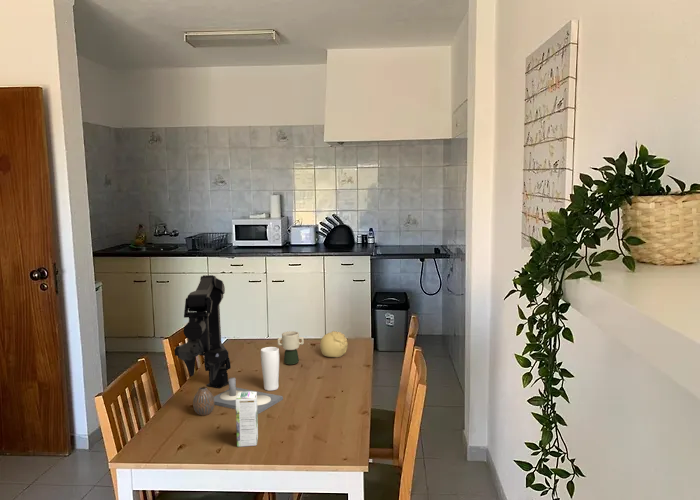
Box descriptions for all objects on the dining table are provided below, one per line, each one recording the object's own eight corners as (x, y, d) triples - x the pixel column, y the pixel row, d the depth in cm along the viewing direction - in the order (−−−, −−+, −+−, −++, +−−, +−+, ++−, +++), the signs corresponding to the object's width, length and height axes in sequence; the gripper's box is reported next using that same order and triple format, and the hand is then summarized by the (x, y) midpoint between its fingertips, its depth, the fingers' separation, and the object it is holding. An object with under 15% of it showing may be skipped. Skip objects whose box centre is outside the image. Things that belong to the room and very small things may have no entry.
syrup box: (239, 438, 171) (236, 391, 169) (259, 437, 171) (256, 390, 170) (236, 447, 165) (234, 398, 164) (257, 446, 166) (255, 397, 164)
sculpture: (347, 359, 245) (347, 334, 244) (319, 359, 245) (318, 335, 244) (348, 351, 256) (347, 328, 255) (321, 352, 256) (320, 328, 255)
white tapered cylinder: (277, 392, 208) (275, 352, 206) (259, 391, 209) (257, 351, 207) (283, 385, 214) (281, 347, 213) (265, 385, 216) (264, 346, 214)
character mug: (304, 360, 245) (303, 330, 243) (304, 365, 238) (303, 334, 236) (278, 361, 244) (277, 331, 243) (278, 366, 237) (277, 336, 235)
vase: (219, 410, 193) (217, 385, 192) (207, 418, 186) (206, 392, 185) (201, 408, 195) (199, 383, 194) (189, 416, 189) (187, 390, 188)
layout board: (207, 403, 199) (206, 382, 198) (233, 390, 211) (232, 370, 210) (258, 414, 189) (257, 392, 188) (282, 399, 201) (282, 379, 200)
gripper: (160, 334, 185) (163, 381, 187) (204, 341, 176) (207, 390, 178) (185, 326, 195) (188, 371, 196) (228, 332, 186) (230, 378, 188)
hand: (202, 377), depth 189 cm, fingers open, 9 cm apart
